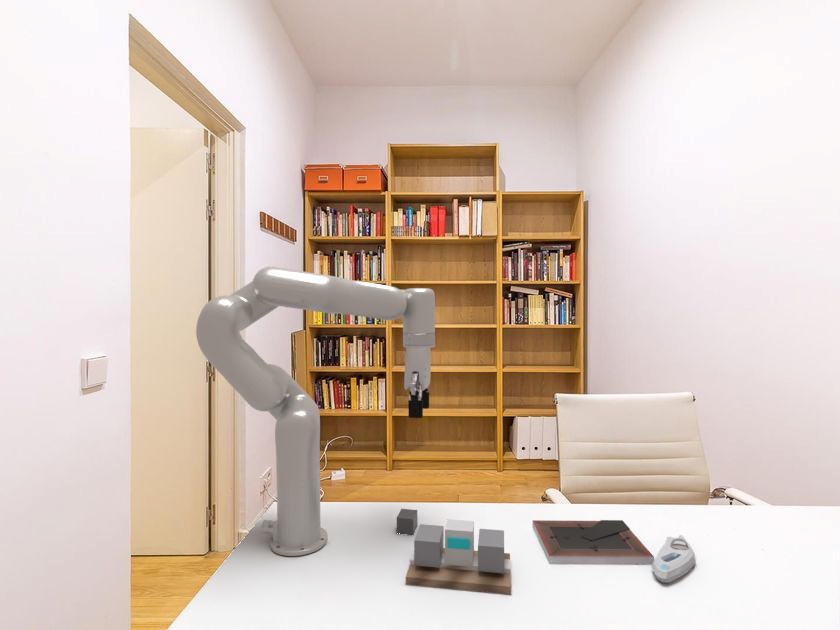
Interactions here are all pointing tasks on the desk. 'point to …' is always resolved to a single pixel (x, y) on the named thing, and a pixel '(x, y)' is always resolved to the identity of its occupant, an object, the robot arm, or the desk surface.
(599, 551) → the picture frame
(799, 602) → the desk surface
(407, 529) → the grey rectangular block
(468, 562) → the block
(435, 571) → the rail board
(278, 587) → the desk surface
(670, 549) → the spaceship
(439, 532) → the mounted modules
